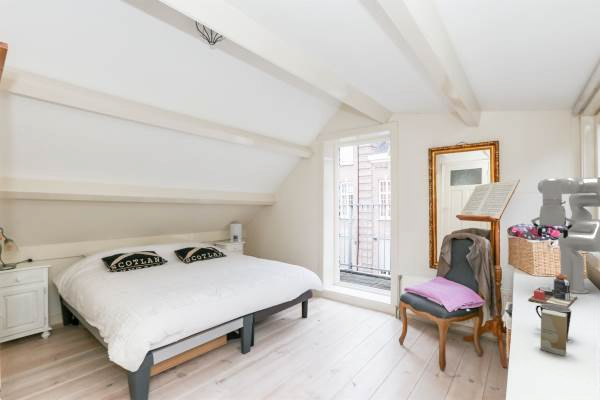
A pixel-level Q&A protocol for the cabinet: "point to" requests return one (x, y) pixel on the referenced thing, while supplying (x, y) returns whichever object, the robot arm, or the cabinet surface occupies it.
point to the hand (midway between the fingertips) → (552, 237)
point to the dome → (546, 288)
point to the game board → (554, 299)
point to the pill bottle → (561, 287)
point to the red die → (539, 294)
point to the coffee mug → (557, 309)
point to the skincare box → (553, 331)
